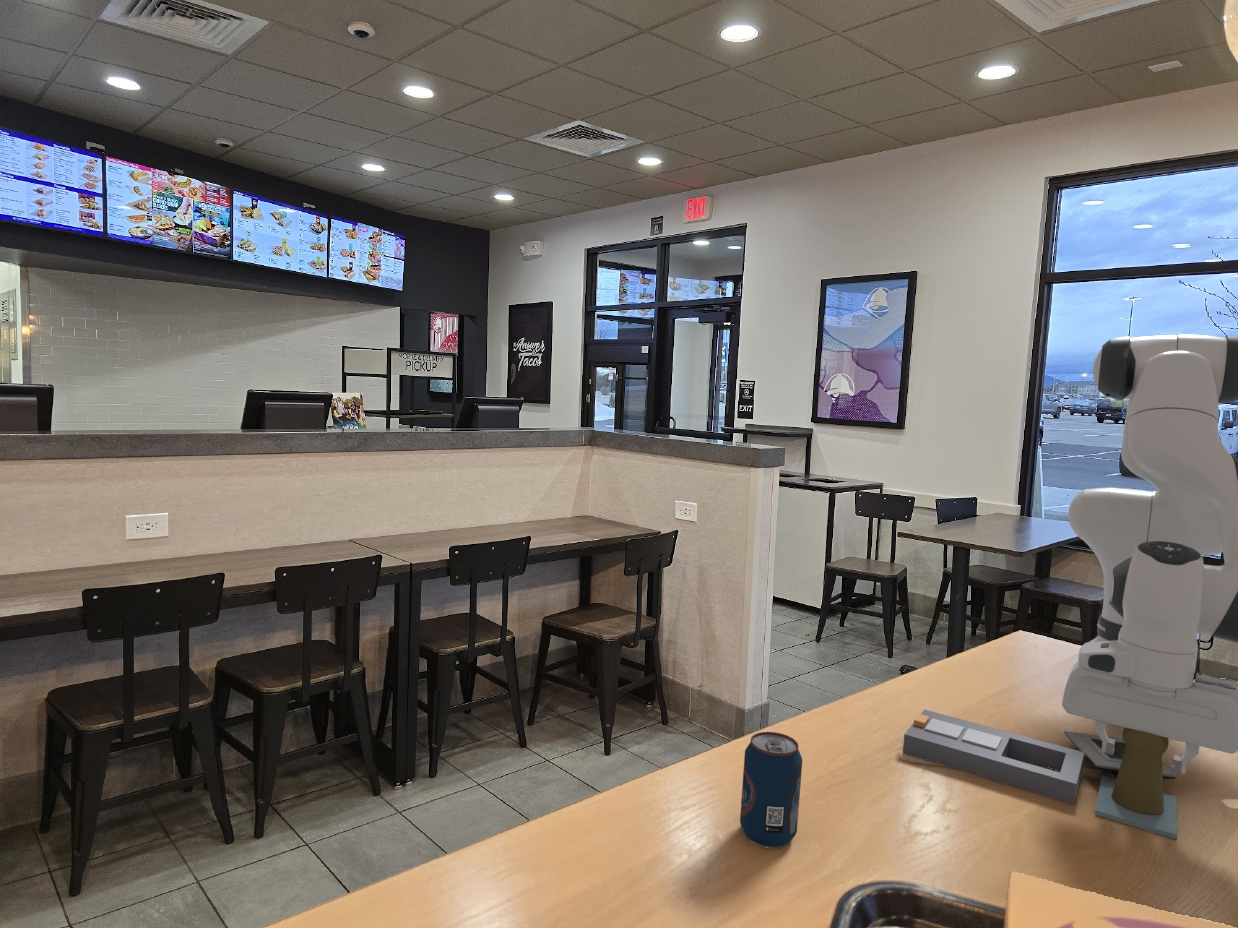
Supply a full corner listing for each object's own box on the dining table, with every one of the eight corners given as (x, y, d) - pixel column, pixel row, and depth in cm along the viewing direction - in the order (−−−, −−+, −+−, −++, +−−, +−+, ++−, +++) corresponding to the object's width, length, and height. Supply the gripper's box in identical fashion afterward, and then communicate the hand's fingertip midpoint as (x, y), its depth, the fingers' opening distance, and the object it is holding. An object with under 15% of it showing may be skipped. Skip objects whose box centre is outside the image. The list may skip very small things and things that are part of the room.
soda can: (736, 817, 100) (742, 727, 99) (790, 820, 100) (797, 731, 99) (742, 849, 94) (749, 753, 92) (801, 853, 93) (809, 757, 92)
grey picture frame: (1176, 789, 112) (1177, 773, 112) (1095, 778, 114) (1096, 762, 114) (1134, 752, 125) (1136, 738, 125) (1062, 743, 127) (1064, 729, 127)
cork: (1156, 819, 104) (1166, 739, 102) (1105, 800, 108) (1114, 723, 107) (1169, 805, 108) (1179, 728, 106) (1119, 787, 112) (1128, 712, 111)
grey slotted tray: (922, 726, 131) (924, 704, 130) (1082, 771, 117) (1085, 747, 117) (902, 752, 121) (904, 728, 120) (1074, 804, 108) (1077, 778, 107)
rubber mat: (1101, 779, 115) (1101, 775, 115) (1176, 800, 110) (1176, 796, 110) (1094, 814, 105) (1095, 810, 105) (1176, 839, 100) (1177, 834, 100)
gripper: (1251, 676, 102) (1236, 777, 104) (1071, 640, 114) (1060, 731, 115) (1255, 691, 97) (1240, 797, 99) (1066, 652, 109) (1055, 747, 110)
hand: (1142, 761), depth 107 cm, fingers open, 7 cm apart
